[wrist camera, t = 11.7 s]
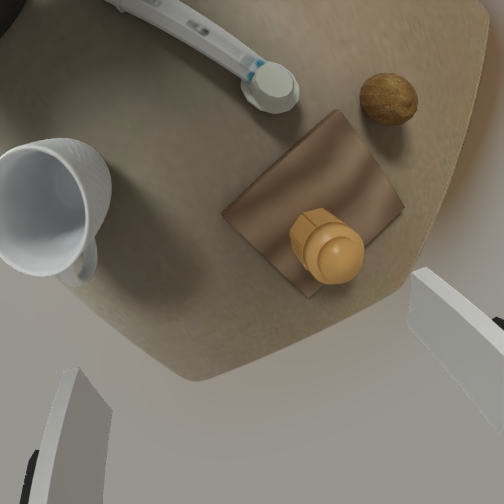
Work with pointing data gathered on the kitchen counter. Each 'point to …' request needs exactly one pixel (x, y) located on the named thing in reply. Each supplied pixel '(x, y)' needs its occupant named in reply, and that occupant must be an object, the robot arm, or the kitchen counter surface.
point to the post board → (315, 195)
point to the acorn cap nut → (327, 247)
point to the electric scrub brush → (220, 51)
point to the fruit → (388, 99)
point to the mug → (53, 208)
